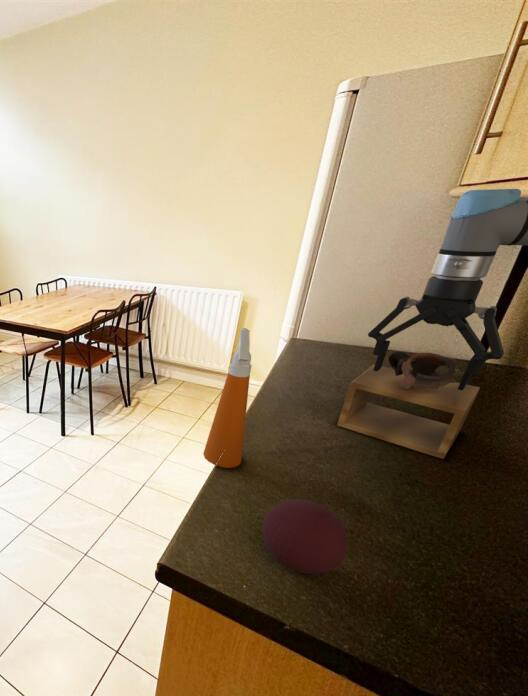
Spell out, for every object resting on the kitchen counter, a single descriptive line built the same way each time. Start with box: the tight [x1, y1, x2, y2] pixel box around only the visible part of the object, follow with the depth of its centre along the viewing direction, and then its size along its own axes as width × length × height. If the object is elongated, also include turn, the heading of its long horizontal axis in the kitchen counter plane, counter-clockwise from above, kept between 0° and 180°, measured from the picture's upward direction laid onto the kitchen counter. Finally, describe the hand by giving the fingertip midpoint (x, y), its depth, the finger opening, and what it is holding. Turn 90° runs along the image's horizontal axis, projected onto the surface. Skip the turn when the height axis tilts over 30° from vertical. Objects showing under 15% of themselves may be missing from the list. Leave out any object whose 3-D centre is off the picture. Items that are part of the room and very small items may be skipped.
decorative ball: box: [261, 498, 349, 575], centre depth 58 cm, size 10×10×10 cm
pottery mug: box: [387, 351, 456, 390], centre depth 88 cm, size 12×10×8 cm
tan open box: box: [336, 364, 481, 460], centre depth 91 cm, size 18×16×11 cm
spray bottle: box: [202, 327, 252, 469], centre depth 81 cm, size 7×11×26 cm, turn 156°
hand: (416, 378), depth 88 cm, fingers open, 13 cm apart
